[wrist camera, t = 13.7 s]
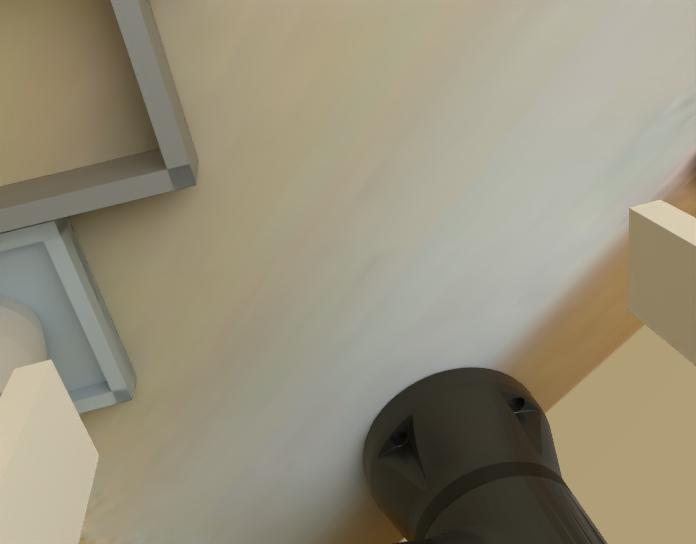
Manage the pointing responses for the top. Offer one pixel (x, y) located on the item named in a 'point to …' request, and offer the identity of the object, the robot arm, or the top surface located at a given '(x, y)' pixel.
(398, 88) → the top surface
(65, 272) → the tray
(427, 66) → the top surface
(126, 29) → the holder
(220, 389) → the top surface
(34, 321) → the cup
